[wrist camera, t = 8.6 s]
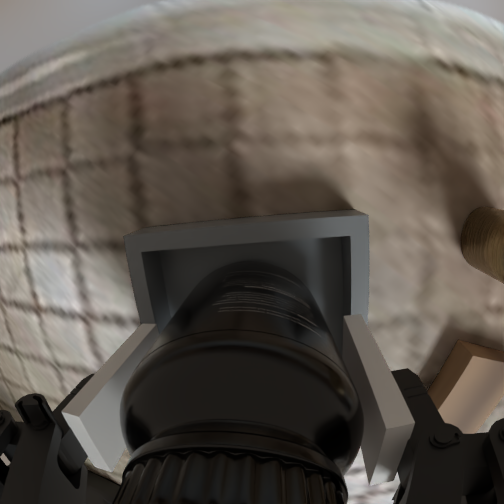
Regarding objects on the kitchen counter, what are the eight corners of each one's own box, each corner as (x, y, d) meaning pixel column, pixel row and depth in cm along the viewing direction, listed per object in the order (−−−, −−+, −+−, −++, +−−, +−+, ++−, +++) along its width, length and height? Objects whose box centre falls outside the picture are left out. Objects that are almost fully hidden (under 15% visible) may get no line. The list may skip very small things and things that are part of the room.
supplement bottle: (160, 319, 15) (20, 492, 3) (254, 228, 14) (200, 362, 2) (250, 400, 16) (231, 597, 4) (346, 326, 15) (453, 524, 3)
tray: (181, 392, 18) (169, 417, 15) (146, 227, 15) (123, 236, 13) (350, 388, 16) (358, 415, 14) (354, 209, 14) (368, 215, 12)
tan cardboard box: (389, 436, 18) (397, 459, 15) (455, 336, 15) (473, 355, 13) (443, 438, 17) (453, 458, 15) (504, 350, 15) (521, 366, 13)
